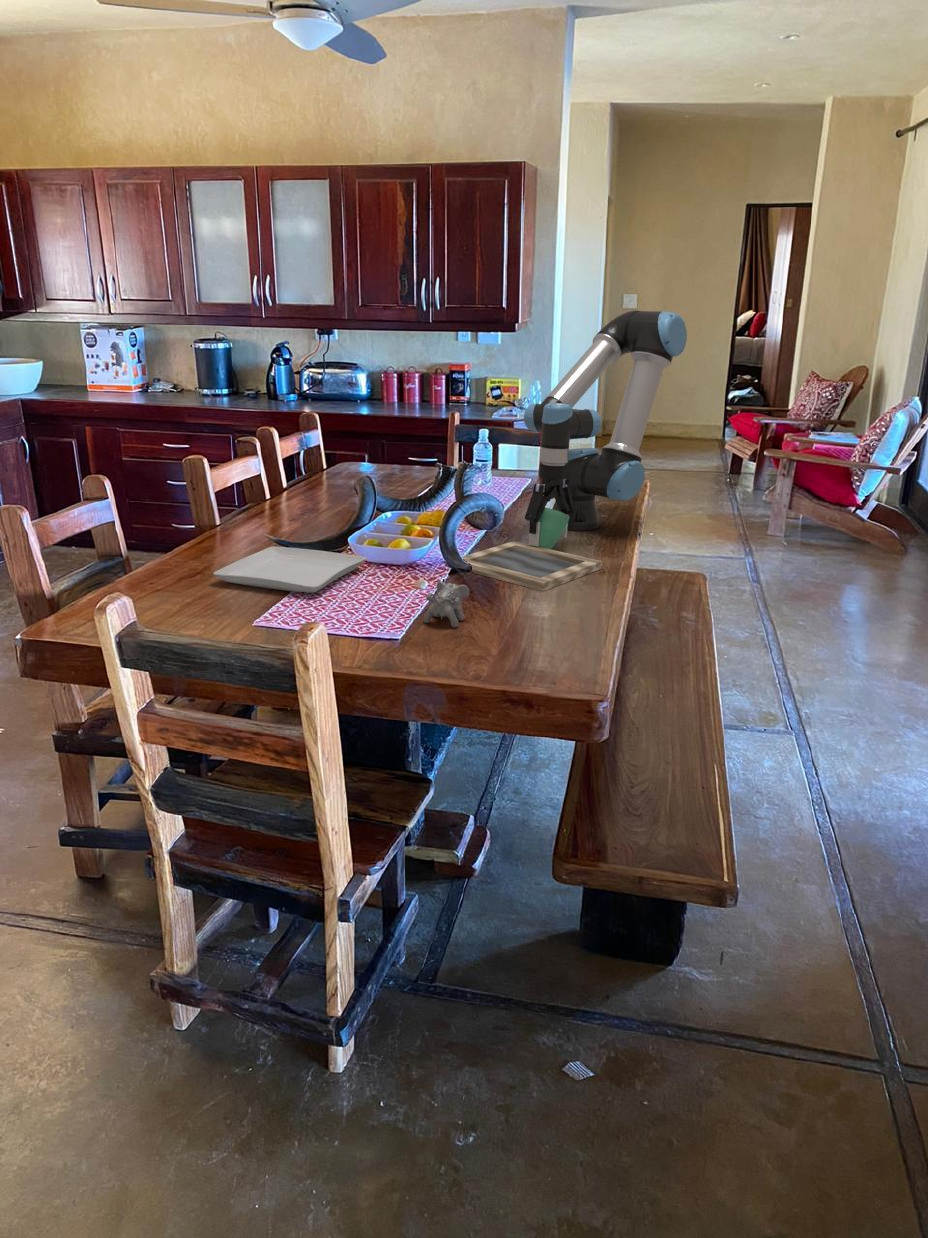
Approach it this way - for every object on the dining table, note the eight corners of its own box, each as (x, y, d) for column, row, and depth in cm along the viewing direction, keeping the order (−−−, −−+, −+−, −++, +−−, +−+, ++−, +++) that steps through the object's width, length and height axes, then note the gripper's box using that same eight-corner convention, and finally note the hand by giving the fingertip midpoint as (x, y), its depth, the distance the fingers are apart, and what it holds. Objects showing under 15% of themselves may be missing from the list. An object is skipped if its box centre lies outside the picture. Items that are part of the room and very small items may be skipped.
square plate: (368, 570, 223) (368, 555, 221) (316, 602, 198) (316, 585, 197) (272, 557, 231) (272, 543, 229) (211, 587, 206) (210, 571, 205)
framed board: (513, 548, 245) (513, 541, 244) (601, 568, 228) (602, 561, 227) (451, 567, 226) (452, 559, 225) (543, 591, 209) (543, 583, 208)
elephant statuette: (422, 628, 184) (423, 594, 181) (427, 606, 195) (427, 573, 192) (467, 631, 184) (468, 596, 181) (469, 609, 195) (470, 576, 192)
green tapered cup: (559, 549, 236) (569, 513, 236) (523, 540, 237) (534, 504, 237) (559, 557, 250) (569, 523, 251) (525, 548, 251) (535, 514, 252)
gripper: (567, 456, 249) (561, 531, 256) (514, 466, 231) (509, 546, 238) (590, 460, 245) (584, 536, 252) (538, 470, 226) (532, 551, 233)
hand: (548, 541), depth 245 cm, fingers closed on green tapered cup, 13 cm apart
